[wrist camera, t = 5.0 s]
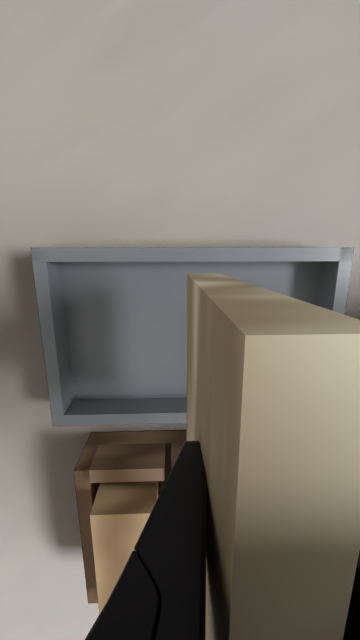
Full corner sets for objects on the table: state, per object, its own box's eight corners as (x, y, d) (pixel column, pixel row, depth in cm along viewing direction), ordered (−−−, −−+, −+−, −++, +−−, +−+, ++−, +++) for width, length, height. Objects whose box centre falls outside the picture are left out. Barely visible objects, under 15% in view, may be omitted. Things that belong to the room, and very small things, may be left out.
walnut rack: (238, 429, 22) (255, 471, 18) (232, 543, 25) (245, 604, 20) (91, 432, 22) (71, 476, 17) (101, 547, 24) (86, 611, 20)
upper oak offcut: (157, 483, 18) (155, 513, 16) (160, 581, 21) (158, 618, 18) (99, 485, 18) (89, 515, 16) (107, 583, 20) (100, 621, 18)
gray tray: (325, 249, 19) (354, 247, 16) (308, 398, 22) (329, 420, 19) (52, 249, 18) (30, 247, 15) (69, 402, 21) (52, 425, 18)
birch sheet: (219, 273, 12) (400, 332, 3) (214, 443, 14) (304, 836, 5) (186, 273, 12) (244, 335, 3) (186, 444, 14) (218, 842, 5)
